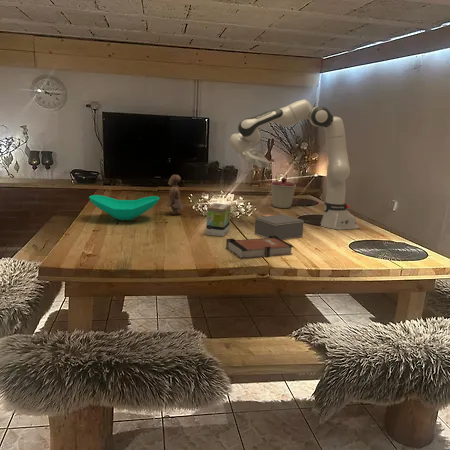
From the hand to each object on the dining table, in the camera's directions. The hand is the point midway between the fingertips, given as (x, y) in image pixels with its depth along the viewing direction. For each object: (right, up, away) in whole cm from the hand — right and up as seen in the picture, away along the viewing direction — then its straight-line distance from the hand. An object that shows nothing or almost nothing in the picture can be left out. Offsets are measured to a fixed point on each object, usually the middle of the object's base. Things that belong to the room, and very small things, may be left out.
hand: (265, 168), depth 244 cm
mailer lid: (+5, -29, -8) cm, 30 cm away
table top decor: (-81, -29, +12) cm, 87 cm away
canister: (+18, -19, +71) cm, 76 cm away
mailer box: (+6, -37, -8) cm, 38 cm away
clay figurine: (-54, -25, +32) cm, 67 cm away
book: (-7, -45, -38) cm, 59 cm away
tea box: (-26, -36, -8) cm, 45 cm away
